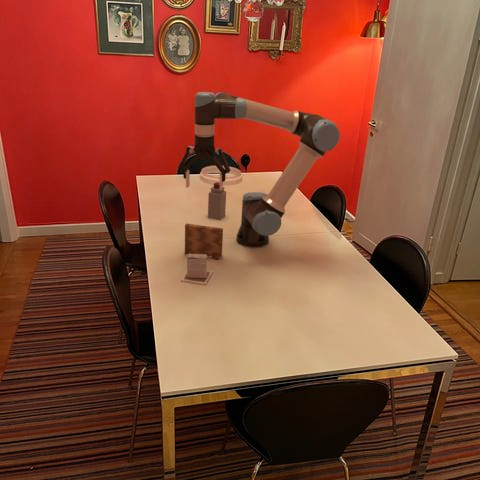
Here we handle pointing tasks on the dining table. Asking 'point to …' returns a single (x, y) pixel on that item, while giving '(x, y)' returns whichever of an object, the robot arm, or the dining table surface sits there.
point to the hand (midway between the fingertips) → (204, 187)
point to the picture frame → (197, 279)
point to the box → (197, 266)
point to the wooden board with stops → (203, 240)
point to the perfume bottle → (216, 202)
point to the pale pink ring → (213, 179)
